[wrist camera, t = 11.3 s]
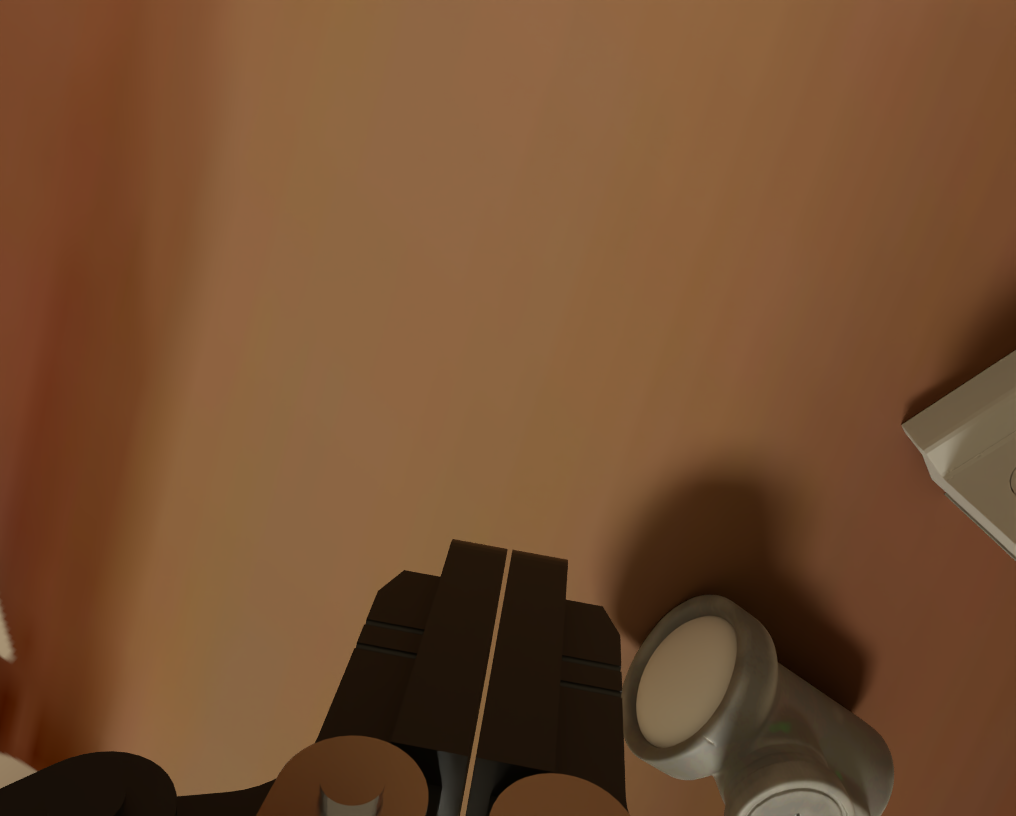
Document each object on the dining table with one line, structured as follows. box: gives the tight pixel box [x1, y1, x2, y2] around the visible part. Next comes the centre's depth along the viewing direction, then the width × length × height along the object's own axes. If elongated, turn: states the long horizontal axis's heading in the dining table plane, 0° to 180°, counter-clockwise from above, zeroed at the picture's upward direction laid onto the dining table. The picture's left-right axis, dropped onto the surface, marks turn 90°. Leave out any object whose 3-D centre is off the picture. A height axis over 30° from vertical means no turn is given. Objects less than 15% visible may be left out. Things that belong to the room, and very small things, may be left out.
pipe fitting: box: [621, 595, 894, 816], centre depth 39 cm, size 12×8×10 cm
